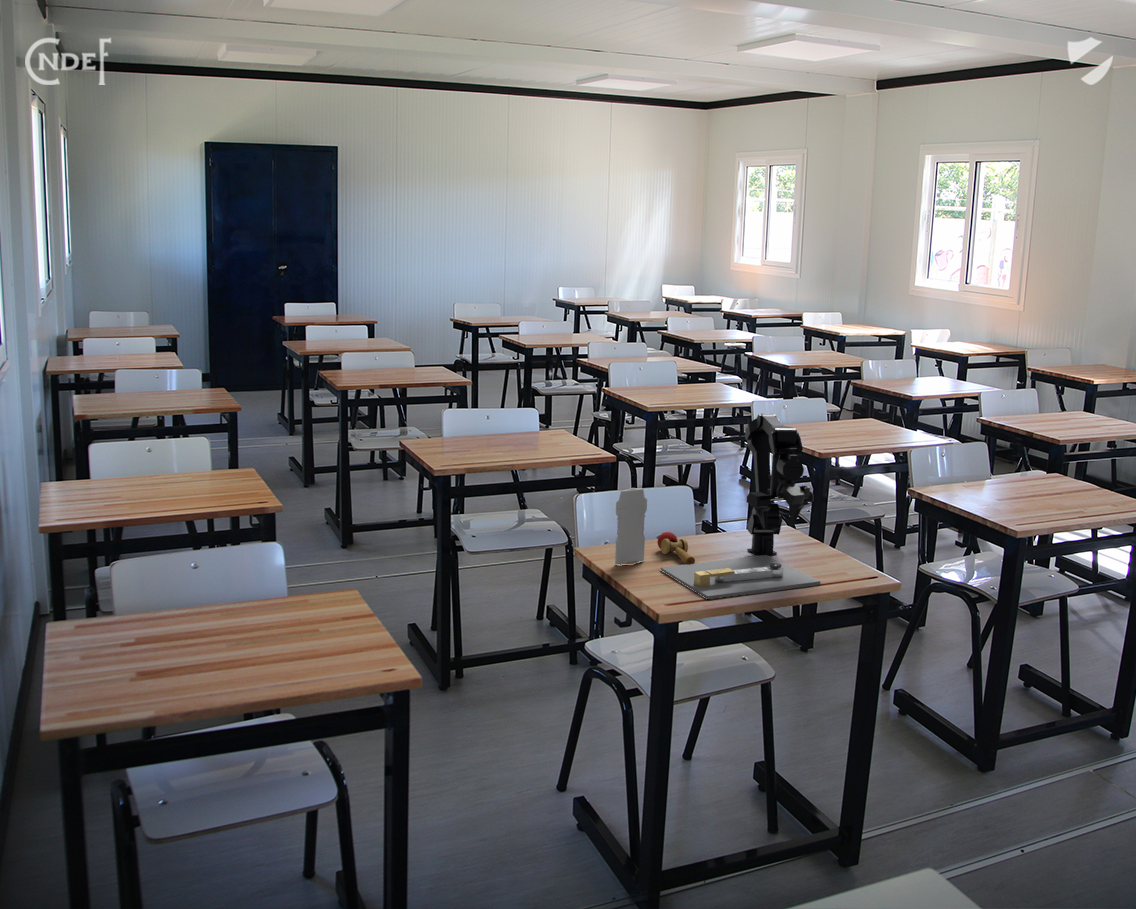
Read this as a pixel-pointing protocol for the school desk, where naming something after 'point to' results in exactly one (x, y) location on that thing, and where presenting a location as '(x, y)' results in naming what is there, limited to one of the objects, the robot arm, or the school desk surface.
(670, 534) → the kendama
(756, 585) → the base plate
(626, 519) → the tall pale column
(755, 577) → the link
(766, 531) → the robot arm
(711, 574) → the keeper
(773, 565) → the glossy black ball
